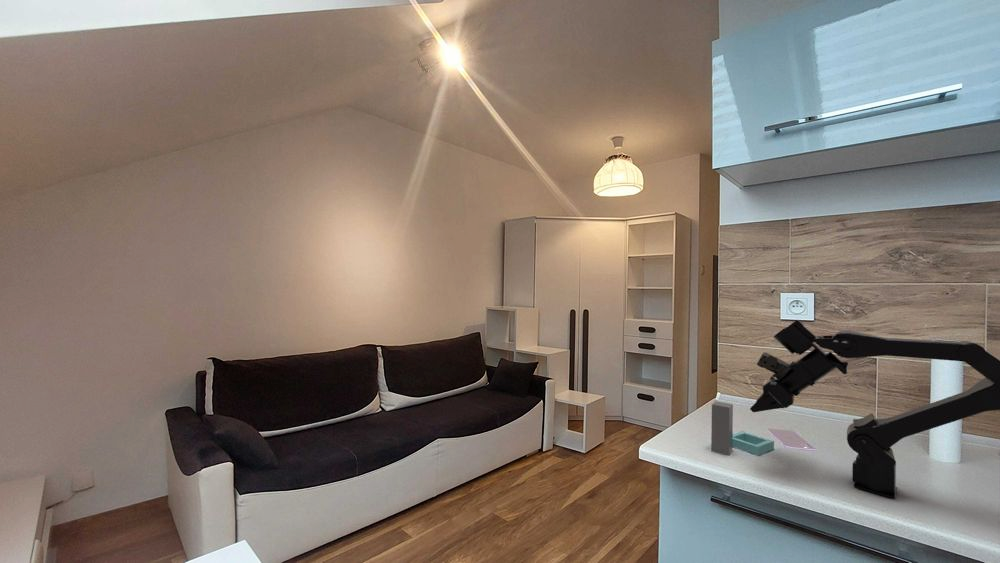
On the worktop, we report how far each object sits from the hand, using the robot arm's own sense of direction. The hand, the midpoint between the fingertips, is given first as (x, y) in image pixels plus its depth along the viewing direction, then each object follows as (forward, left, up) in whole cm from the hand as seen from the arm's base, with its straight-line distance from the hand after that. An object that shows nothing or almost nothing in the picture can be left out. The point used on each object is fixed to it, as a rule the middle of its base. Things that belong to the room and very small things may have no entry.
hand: (754, 406), depth 104 cm
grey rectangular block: (+7, +1, -13) cm, 15 cm away
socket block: (+3, -8, -13) cm, 16 cm away
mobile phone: (-3, -23, -14) cm, 27 cm away
